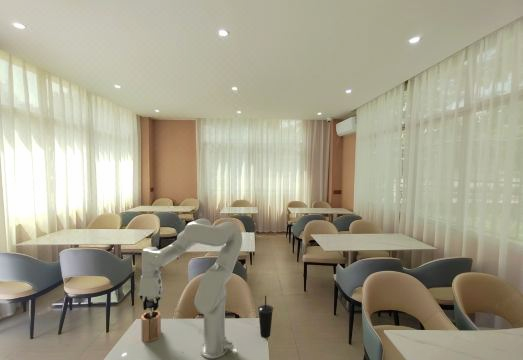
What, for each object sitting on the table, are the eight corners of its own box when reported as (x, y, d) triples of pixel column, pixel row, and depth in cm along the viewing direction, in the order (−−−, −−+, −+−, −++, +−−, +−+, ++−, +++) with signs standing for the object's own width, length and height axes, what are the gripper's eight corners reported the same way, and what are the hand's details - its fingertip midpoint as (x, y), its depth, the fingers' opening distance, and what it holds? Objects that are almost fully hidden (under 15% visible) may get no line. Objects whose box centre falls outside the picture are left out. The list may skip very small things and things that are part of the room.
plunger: (158, 328, 131) (158, 298, 131) (153, 334, 126) (152, 303, 126) (149, 327, 132) (148, 297, 131) (143, 333, 127) (143, 303, 127)
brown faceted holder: (165, 329, 135) (165, 309, 134) (154, 343, 125) (154, 320, 124) (150, 328, 136) (150, 307, 136) (138, 341, 126) (137, 319, 125)
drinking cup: (271, 340, 127) (271, 300, 126) (256, 338, 128) (256, 298, 127) (274, 331, 134) (274, 293, 133) (259, 329, 136) (259, 291, 135)
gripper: (170, 271, 130) (170, 306, 131) (139, 269, 133) (139, 303, 134) (162, 277, 123) (162, 314, 124) (129, 274, 126) (130, 311, 126)
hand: (150, 308), depth 129 cm, fingers closed on plunger, 4 cm apart
